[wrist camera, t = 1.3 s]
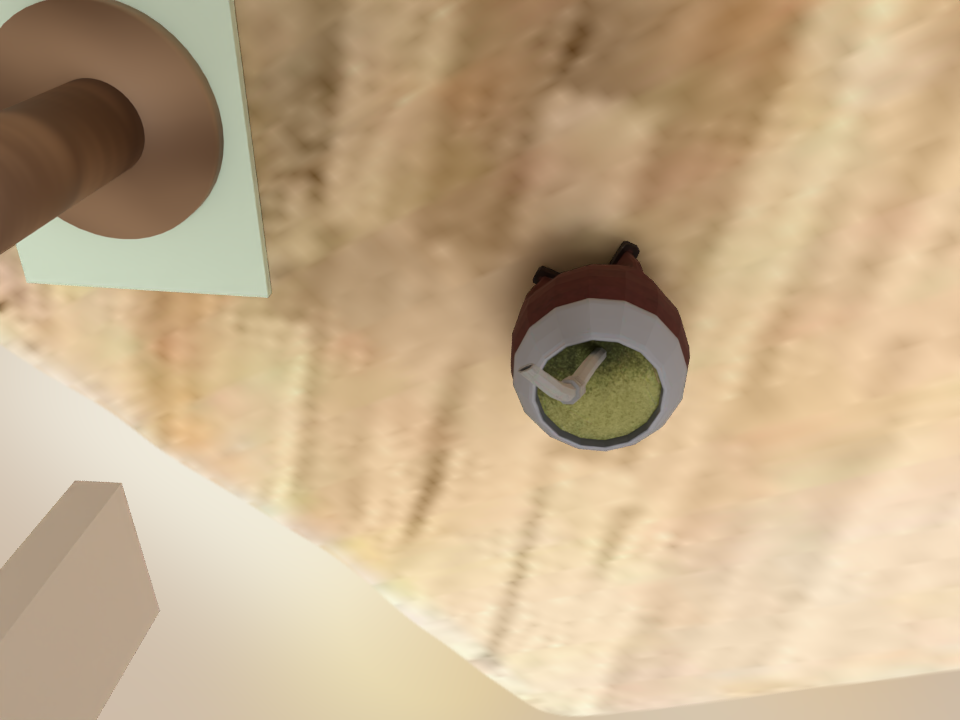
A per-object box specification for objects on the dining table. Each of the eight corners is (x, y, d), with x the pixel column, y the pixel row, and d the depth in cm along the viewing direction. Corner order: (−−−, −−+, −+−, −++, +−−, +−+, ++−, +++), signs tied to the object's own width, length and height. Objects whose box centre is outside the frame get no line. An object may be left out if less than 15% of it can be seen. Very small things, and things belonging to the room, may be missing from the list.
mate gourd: (629, 389, 41) (643, 634, 28) (479, 321, 40) (422, 542, 27) (713, 260, 37) (775, 475, 24) (550, 183, 36) (523, 362, 23)
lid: (-35, -9, 34) (-306, 48, 24) (204, -3, 33) (27, 60, 23) (30, 225, 39) (-171, 354, 29) (238, 236, 38) (107, 374, 28)
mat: (-74, -94, 33) (-83, -94, 33) (222, -90, 32) (217, -89, 32) (32, 278, 41) (27, 282, 41) (271, 293, 40) (268, 297, 40)
